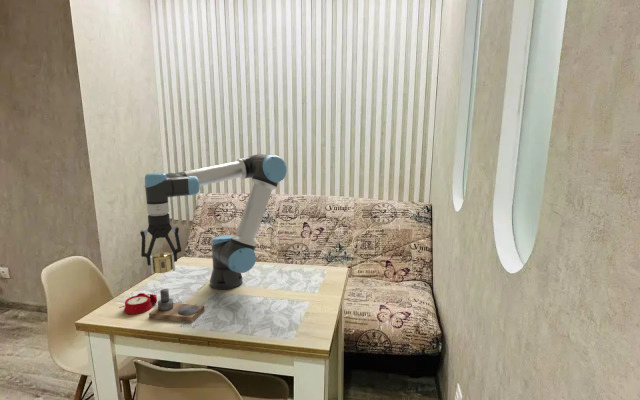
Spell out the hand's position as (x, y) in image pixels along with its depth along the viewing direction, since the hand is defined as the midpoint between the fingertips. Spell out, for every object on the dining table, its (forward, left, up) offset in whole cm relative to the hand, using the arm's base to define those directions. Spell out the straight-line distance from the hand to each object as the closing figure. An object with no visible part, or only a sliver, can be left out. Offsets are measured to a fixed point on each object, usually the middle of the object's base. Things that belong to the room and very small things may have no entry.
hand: (163, 271), depth 144 cm
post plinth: (+4, +3, -18) cm, 18 cm away
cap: (0, 0, 0) cm, 0 cm away
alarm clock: (-12, -6, -18) cm, 23 cm away
